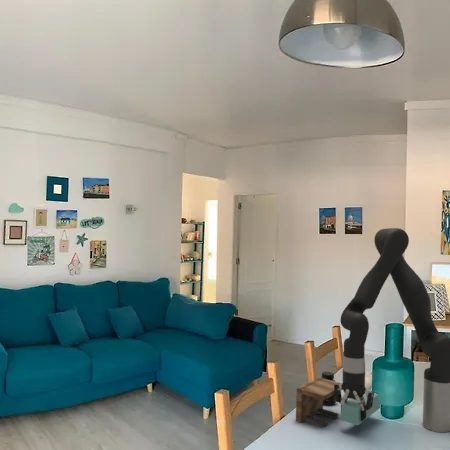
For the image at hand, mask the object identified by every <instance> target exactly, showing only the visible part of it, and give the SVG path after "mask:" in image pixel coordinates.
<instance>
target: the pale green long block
mask: <svg viewBox="0 0 450 450" xmlns="http://www.w3.org/2000/svg"><path fill="white" fill-rule="evenodd" d="M368 391H370V392H371V390H368ZM363 396H364V399H365V403H367V397H366V394H364V395H363ZM380 409H381V403H380V404H379V402H378V394H376V393H374V397H373V404H372V408H370V409H369V410H366V419H364V421H365V420H367V419H368V418H369V417H370V416H372V415H373V414H375V412H377V411H378V410H380ZM360 415H361V408H360V406H359V404H358V402H357V400H354V399H350V398H348V400H347V401H346V402H345V403H343V404H342V414H341V421H342V422H345V423H348V424H353V425H356V426H359V425H361V424H362V423H363V422H364V421H361V420H360Z"/></svg>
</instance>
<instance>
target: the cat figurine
mask: <svg viewBox="0 0 450 450" xmlns="http://www.w3.org/2000/svg"><path fill="white" fill-rule="evenodd" d="M372 374H373V371H372V372H370V371H368V370H365V388H366V390H371V388H372Z"/></svg>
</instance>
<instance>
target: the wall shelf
mask: <svg viewBox="0 0 450 450" xmlns="http://www.w3.org/2000/svg"><path fill="white" fill-rule="evenodd" d="M335 381H336V380H335ZM335 381H331V380H327V379H323V378H322V377H318V378H315V379H314V380H313V379H312V380H311V381H309V382H306V383H305V384H303V385H300V386H299V387H297V388H296V400H295V402H296V403H295V405H296V406H295V422H296V423H300V424H301V423H304V422H309V423H311V424H314V425H318V426H320V427H324V428H325V427H328V426H327V425H328V421H326V420H324V419H321V418H316V417H313V416H315V415H316V414H320V415H323V416H326V417H330V418H332V419H335V420H337V419H339V417H340V416H339V415H340V414H339V413H337V412H334V411H331V410H327V409H325V408H324V405H323V400H325V399H327V398H329V397H331V396H332V395H334V394H335V391H334V385H335V384H337V383H339V384H342V383H343V382H339V381H336V382H335ZM341 391H343V389H341Z"/></svg>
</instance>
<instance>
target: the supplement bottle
mask: <svg viewBox="0 0 450 450" xmlns="http://www.w3.org/2000/svg"><path fill="white" fill-rule="evenodd" d="M321 378H323V379H327V380H331V381H335V382H337V381H336V380H335V373H334V372H331V371H322V372H321ZM336 404H337V402H336V399H335V394H334V395H332V396H331V397H329V398H327V399H325V400H323V406H326V407H331V406H335V405H336Z"/></svg>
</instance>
